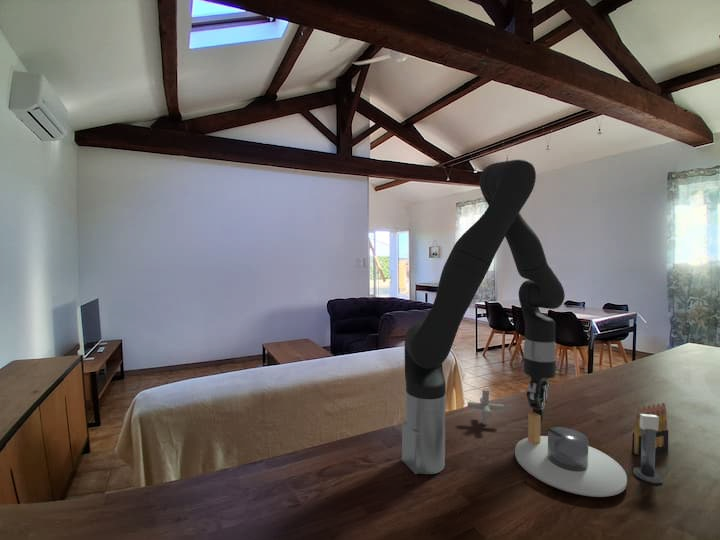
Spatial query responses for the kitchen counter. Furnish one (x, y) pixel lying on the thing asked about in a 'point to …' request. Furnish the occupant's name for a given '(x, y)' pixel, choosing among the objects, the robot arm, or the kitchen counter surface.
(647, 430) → the stand
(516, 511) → the kitchen counter surface
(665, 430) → the ammunition clip
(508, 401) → the kitchen counter surface
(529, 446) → the platter
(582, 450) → the cover
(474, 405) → the pipe connector
